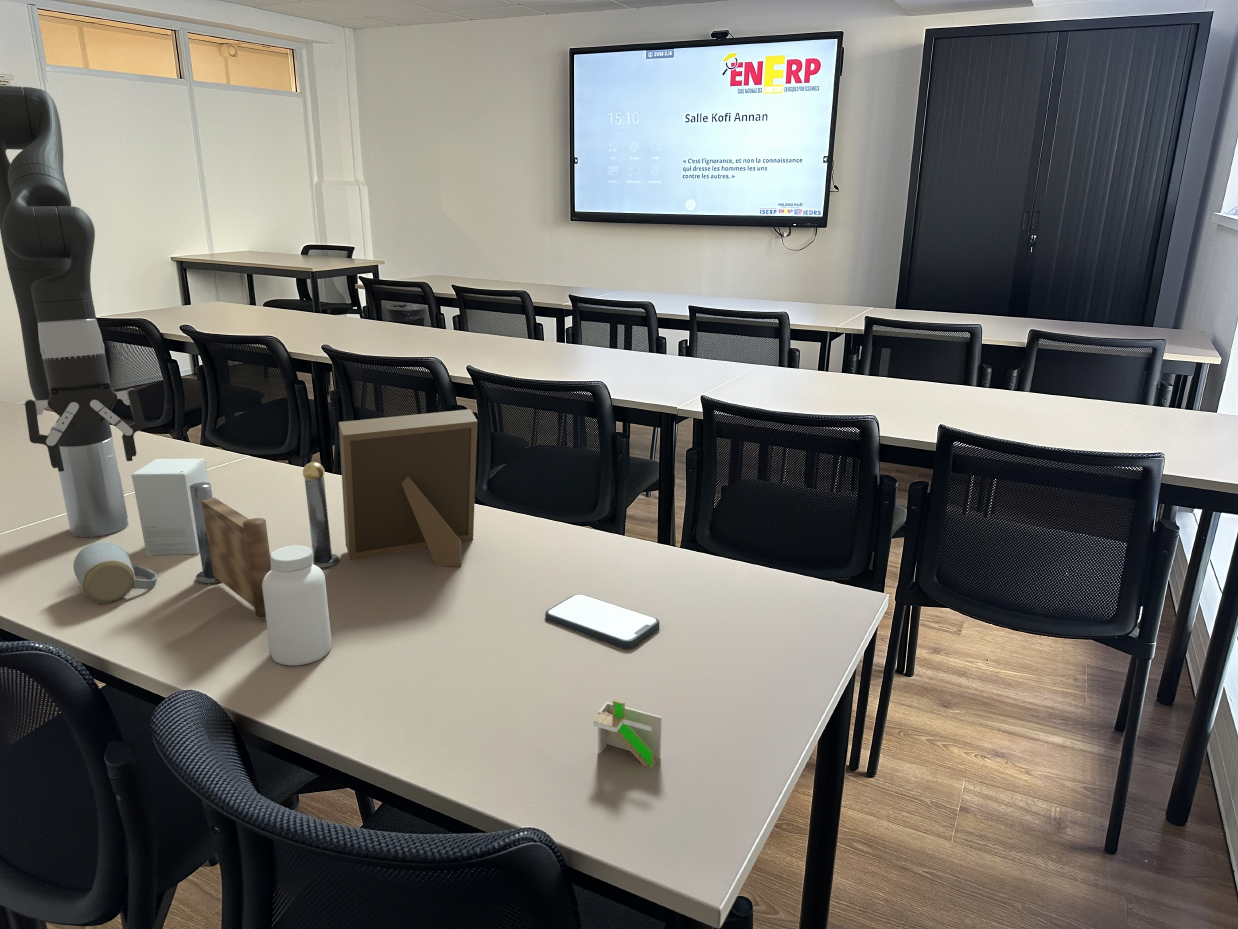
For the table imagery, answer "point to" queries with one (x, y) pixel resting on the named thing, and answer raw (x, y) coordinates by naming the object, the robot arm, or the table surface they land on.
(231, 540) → the gate
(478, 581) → the table surface
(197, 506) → the hinge post
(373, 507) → the photo frame
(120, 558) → the ceramic mug
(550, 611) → the smartphone
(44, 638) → the table surface
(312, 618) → the pill bottle
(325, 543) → the post
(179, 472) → the supplement box
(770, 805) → the table surface
